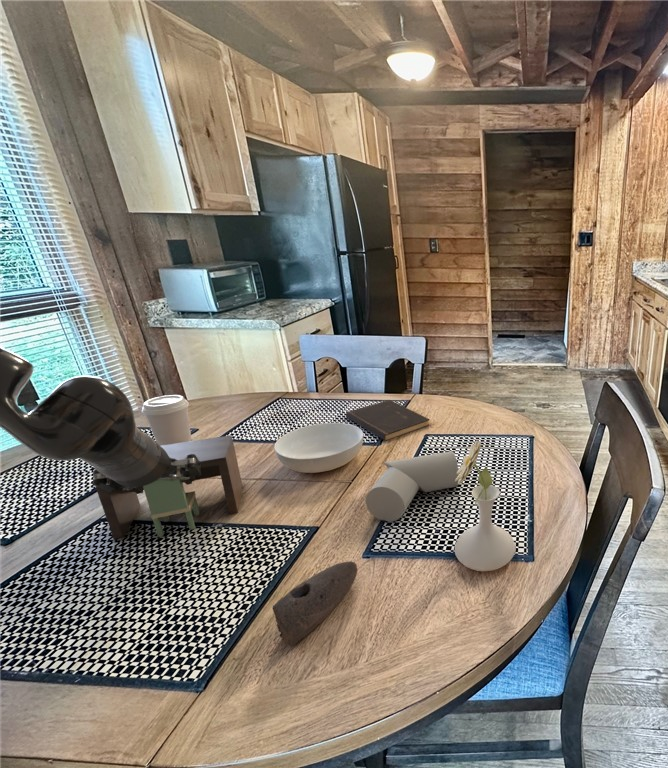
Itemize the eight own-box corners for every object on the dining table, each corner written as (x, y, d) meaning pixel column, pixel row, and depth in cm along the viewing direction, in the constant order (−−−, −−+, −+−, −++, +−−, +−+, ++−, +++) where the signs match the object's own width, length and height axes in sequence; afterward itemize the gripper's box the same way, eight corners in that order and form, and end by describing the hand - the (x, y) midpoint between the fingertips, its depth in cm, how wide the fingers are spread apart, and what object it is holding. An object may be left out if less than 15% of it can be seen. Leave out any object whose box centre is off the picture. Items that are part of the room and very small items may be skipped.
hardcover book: (390, 405, 146) (389, 399, 145) (430, 425, 131) (429, 419, 131) (346, 418, 135) (345, 412, 134) (385, 442, 120) (384, 434, 119)
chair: (195, 531, 82) (178, 469, 78) (157, 539, 80) (137, 476, 75) (200, 513, 87) (185, 454, 83) (165, 520, 85) (147, 460, 80)
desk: (238, 513, 88) (225, 457, 83) (114, 541, 79) (92, 479, 74) (242, 487, 97) (231, 434, 92) (132, 509, 88) (114, 452, 84)
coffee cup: (145, 457, 108) (129, 404, 103) (182, 441, 116) (169, 391, 112) (172, 464, 105) (157, 409, 100) (208, 447, 114) (196, 396, 109)
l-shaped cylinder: (395, 465, 106) (357, 513, 87) (401, 429, 102) (363, 471, 83) (461, 485, 105) (437, 538, 86) (470, 449, 101) (447, 496, 83)
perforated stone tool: (347, 575, 73) (343, 542, 70) (369, 587, 70) (366, 554, 68) (265, 644, 60) (257, 607, 58) (288, 661, 58) (281, 623, 56)
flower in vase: (471, 528, 85) (471, 417, 77) (523, 543, 82) (529, 428, 73) (438, 572, 74) (434, 447, 66) (497, 592, 70) (500, 462, 62)
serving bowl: (382, 453, 114) (380, 431, 111) (319, 493, 95) (315, 467, 93) (326, 437, 122) (323, 416, 119) (259, 471, 104) (254, 446, 101)
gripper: (66, 491, 61) (116, 513, 75) (186, 470, 67) (212, 493, 81) (70, 443, 64) (117, 473, 77) (185, 427, 70) (210, 457, 84)
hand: (166, 483), depth 79 cm, fingers open, 7 cm apart
